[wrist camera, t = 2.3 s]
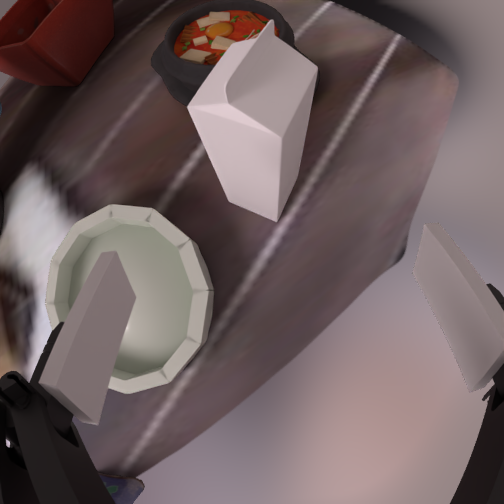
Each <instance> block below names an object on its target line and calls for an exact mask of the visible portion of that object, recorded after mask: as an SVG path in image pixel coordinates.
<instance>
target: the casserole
mask: <svg viewBox="0 0 504 504" xmlns="http://www.w3.org/2000/svg"><path fill="white" fill-rule="evenodd" d="M270 20H274V34H275V36H276V37H278V38H279V39H281V40H282V41H283V42H285V43H286V44H288V45H289V46H291V47H292V48H293V49H295V50H296V51H298V52H299V53H300V54H302V55H303V56H304V57H306V56H305V55H304V54H303V53H301V52H300V51H299V50H298V49H297V48H296V47H295V46H294V34H293V30H292V29H291V27H290V26H289V24H288V23H287V22H286V21H285V20H284V18H283V17H282V15H281V14H280V13H279V12H278V11H277V10H276V9H274V8H273V7H271V6H269V5H267V4H265V3H262V2H260V1H256V0H214V1H210V2H206V3H204V4H201V5H198V6H196V7H194V8H192V9H190V10H188V11H186V12H185V13H183V14H182V15H181V16H179V17H178V18H177V19H176V20H175V21H174V22H173V23H172V24H171V26H170V27H169V28H168V30H167V32H166V35H165V39H164V41H163V42H162V43H161V44H160V45H159V46H158V48H157V49H156V50H155V52H154V54H153V56H152V58H151V66H152V67H153V68H154V69H155V71H156V72H157V73H158V74H159V75H160V76H161V77H162V78H163V80H164V82H165V84H166V86H167V88H168V90H169V92H170V94H171V95H172V96H173V97H174V98H175V99H176V100H177V101H179V102H181V103H182V104H184V105H185V106H188V105H189V103H190V102H191V100H192V99H193V97H194V96H195V94H196V93H197V91H198V90H199V88H200V87H201V85H202V84H203V82H204V81H205V80H206V78H207V77H208V75H209V74H210V72H211V71H212V70H213V68H214V67H215V66H216V64H217V63H218V61H219V60H220V59H221V57H222V56H223V55H224V53H225V52H226V51H227V49H228V48H229V47H230V46H231V44H232V43H235V42H240V41H244V40H249V39H254V38H257V37H258V35H259V34H260V33H261V31H262V30H263V29H264V27H265V26H266V25H267V23H268V22H269V21H270ZM306 58H307V59H308V60H310V59H309V58H308V57H306ZM310 61H311V60H310ZM311 62H312V61H311ZM312 63H313V64H315V63H314V62H312ZM315 65H316V64H315ZM316 66H317V65H316ZM319 81H320V71H319V69H318V72H317V78H316V83H315V89H314V93H315V91H316V90H317V87H318V84H319Z"/></svg>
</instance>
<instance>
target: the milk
mask: <svg viewBox="0 0 504 504" xmlns="http://www.w3.org/2000/svg"><path fill="white" fill-rule="evenodd" d="M317 72H318V67H317V66H316V65H315V64H313V63H312V62H311V61H310V60H308V59H307V58H306V57H304V56H303V55H302V54H300V53H299V52H298V51H296V50H295V49H293V48H292V47H291V46H289V45H288V44H286V43H285V42H283V41H282V40H281V39H279V38H278V37H276V36H275V34H274V20H270V21H269V22H268V23H267V25H266V26H265V27H264V29H263V30H262V31H261V33H260V34H259V35H258V37H257V38H254V39H249V40H244V41H240V42H235V43H232V44H231V46H230V47H229V48H228V49H227V51H226V52H225V53H224V55H223V56H222V57H221V59H220V60H219V61H218V63H217V64H216V66H215V67H214V68H213V70H212V71H211V72H210V74H209V75H208V77H207V78H206V80H205V81H204V82H203V84H202V85H201V87H200V88H199V90H198V91H197V93H196V94H195V96H194V97H193V99H192V100H191V102H190V103H189V105H188V106H187V108H188V111H189V113H190V115H191V117H192V120H193V122H194V124H195V126H196V129H197V131H198V133H199V135H200V138H201V140H202V142H203V144H204V147H205V149H206V151H207V153H208V156H209V158H210V160H211V162H212V165H213V167H214V169H215V171H216V174H217V176H218V178H219V180H220V183H221V185H222V187H223V189H224V192H225V194H226V196H227V198H228V201H229V202H230V203H233V204H235V205H238V206H240V207H242V208H245V209H247V210H249V211H252V212H254V213H257V214H259V215H261V216H264V217H266V218H268V219H271V220H273V221H275V222H278V220H279V217H280V215H281V213H282V211H283V209H284V206H285V204H286V202H287V200H288V197H289V195H290V193H291V191H292V189H293V186H294V184H295V182H296V180H297V177H298V173H299V168H300V163H301V158H302V153H303V147H304V142H305V137H306V132H307V127H308V121H309V116H310V111H311V105H312V100H313V94H314V89H315V83H316V78H317Z"/></svg>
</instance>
